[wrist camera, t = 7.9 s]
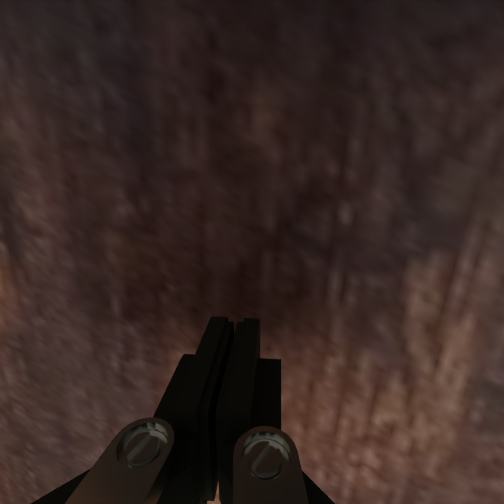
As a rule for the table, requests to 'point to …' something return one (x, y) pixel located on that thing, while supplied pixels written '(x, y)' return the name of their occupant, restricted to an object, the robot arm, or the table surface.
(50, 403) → the table surface
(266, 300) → the table surface
